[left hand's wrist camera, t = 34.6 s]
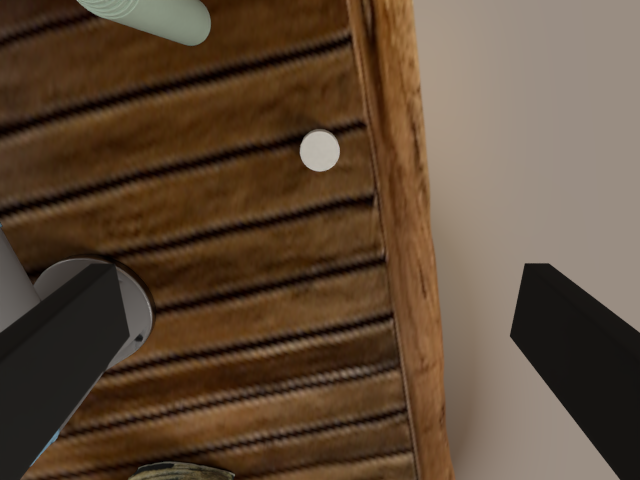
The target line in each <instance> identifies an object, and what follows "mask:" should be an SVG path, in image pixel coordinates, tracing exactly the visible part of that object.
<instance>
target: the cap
mask: <svg viewBox="0 0 640 480" xmlns="http://www.w3.org/2000/svg"><path fill="white" fill-rule="evenodd" d="M300 146H301V147H300V156H301V159H302V161H303V163H304V164H305V165H306V166H307V167H308V168H310V169H312V170H314V171H325V170H328V169H330V168H331V167H333V166H334V165H335V163H336V162H337V160H338V158H339V152H340V150H339V149H340V147H339V145H338V142H337V138H335V136H334V135H333V134H332V133H330V132H329V131H327V130H325V129H324V130H323V129H316V130H313V131H311V132H309V133H308V134H307V135H306V136H305V137H304V138H303V141H302V143H301V145H300Z"/></svg>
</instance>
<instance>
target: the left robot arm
mask: <svg viewBox="0 0 640 480" xmlns="http://www.w3.org/2000/svg"><path fill="white" fill-rule="evenodd" d="M1 227H2V224H1V222H0V480H20V479H21V477H22V476H23V475H24V474H25V472H26V471H27V470H28V468H29V467H30V466H31V465H32V464H33V463H34V462H35V461H36V460H37V458H38V457H39V456H40V455H41V454H42V453H43V452H44V451H45V449H46V448H47V447H48V446H49V445H50V444H52V443H53V442H54V441H55V440H56V439H57V437H58V435H59V433H60V431H61V430H62V429H63V427H64V426H65V425H66V423H67V422H68V420H69V419H70V418H71V416H72V415H73V414H74V412H75V411H76V410H77V408H78V407H79V406H80V404H81V403H82V402H83V400H84V399H85V397H86V396H87V395H88V393H89V392H90V391H91V389H92V388H93V387H94V385H95V384H96V383H97V381H98V380H99V379H100V377H101V376H102V375H103V373H104V372H105V371H106V370H107V369H109V368H110V367H112V366H114V365H115V364H117V363H119V362H120V361H122V360H123V359H125V358H127V357H128V356H130V355H131V354H133V353H134V352H135V351H137V350H138V349H139V348H140V347H141V346H142V345H143V344H144V342H145V341H146V340H147V338H148V337H149V335H150V334H151V332H152V330H153V328H154V325H155V320H156V307H155V303H154V299H153V297H152V294H151V292H150V291H149V289H148V287H147V286H146V284H145V283H144V282H143V281H142V279H141V278H140V277H139V276H138V275H137V274H136V273H134V272H133V271H132V270H131V269H129V268H128V267H126V266H125V265H123V264H121V263H119V262H117V261H115V260H113V259H110V258H107V257H103V256H99V255H90V254H82V255H75V256H70V257H67V258H65V259H62V260H60V261H59V262H57V263H55V264H54V265H52V266H51V267H49V268H48V269H47V270H45V271H44V272H43V273H42V274H41V276H40V277H39V278H38V279H37V281H36V282H35V284H34V285H32V283H31V281H30V279H29V277H28V276H27V274H26V272H25V270H24V268H23V267H22V265H21V263H20V261H19V259H18V258H17V256H16V254H15V252H14V250H13V249H12V247H11V245H10V243H9V241H8V239H7V238H6V236H5V234H4V232H3V230H2V229H1ZM510 337H511V338H512V340H513V341H514V342H515V343H516V345H517V346H518V347H519V349H520V350H521V351H522V353H523V354H524V355H525V357H526V358H527V359H528V360H529V362H530V363H531V364H532V366H533V367H534V368H535V370H536V371H537V372H538V373H539V375H540V376H541V377H542V379H543V380H544V381H545V383H546V384H547V385H548V386H549V388H550V389H551V390H552V392H553V393H554V394H555V395H556V397H557V398H558V399H559V401H560V402H561V403H562V405H563V406H564V407H565V408H566V410H567V411H568V412H569V414H570V415H571V416H572V418H573V419H574V420H575V422H576V423H577V424H578V425H579V427H580V428H581V429H582V431H583V432H584V433H585V435H586V436H587V437H588V438H589V440H590V441H591V442H592V444H593V445H594V446H595V448H596V449H597V450H598V451H599V453H600V454H601V455H602V457H603V458H604V459H605V461H606V462H607V463H608V464H609V466H610V467H611V468H612V470H613V471H614V472H615V474H616V475H617V476H618V477H619V479H620V480H640V333H639V332H638V331H637V330H635V329H634V328H633V327H632V326H630V325H629V324H628V323H626V322H625V321H624V320H622V319H621V318H620V317H618V316H617V315H616V314H614V313H613V312H612V311H611V310H609V309H608V308H607V307H605V306H604V305H603V304H601V303H600V302H599V301H597V300H596V299H595V298H594V297H592V296H591V295H590V294H588V293H587V292H586V291H584V290H583V289H582V288H580V287H579V286H578V285H576V284H575V283H574V282H572V281H571V280H570V279H569V278H567V277H566V276H565V275H563V274H562V273H561V272H559V271H558V270H557V269H555V268H554V267H553V266H551V265H550V264H548V263H525V266H524V270H523V275H522V280H521V285H520V290H519V294H518V299H517V304H516V309H515V314H514V319H513V323H512V328H511V333H510Z"/></svg>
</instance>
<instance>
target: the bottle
mask: <svg viewBox="0 0 640 480" xmlns="http://www.w3.org/2000/svg"><path fill="white" fill-rule="evenodd" d="M77 1H78V2H79V3H80V4H81V5H82V6H83V7H85V8H86V9H87V10H89V11H90V12H92V13H94V14H95V15H97V16H100V17H103V18H106V19H109V20H112V21H115V22H118V23H121V24H124V25H127V26H130V27H133V28H136V29H139V30H142V31H145V32H148V33H151V34H154V35H157V36H160V37H163V38H166V39H169V40H172V41H175V42H178V43H181V44H184V45H189V46H193V45H198V44H200V43H202V42H203V41H204V40H205V39H206V38H207V36H208V34H209V32H210V27H211V20H210V15H209V12H208V10H207V8H206V7H205V5H204V4H203V3H202V2H201V1H200V0H77Z"/></svg>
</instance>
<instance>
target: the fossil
mask: <svg viewBox="0 0 640 480" xmlns="http://www.w3.org/2000/svg"><path fill="white" fill-rule="evenodd" d="M234 476H235V474H233V473H230V472H228V471H225V470H220V469H216V468H211V467H207V466H199V465H195V464H191V463H181V462H161V463H154V464H152V465H145V466H142V467H139V468H138V470H137V471H136V472H135V473H134V474H133V475H132V476H130V477H129V479H128V480H233V479H234Z"/></svg>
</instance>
